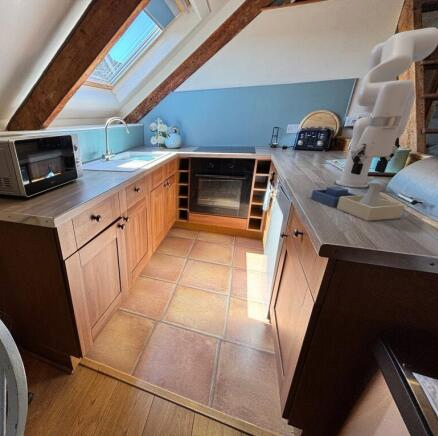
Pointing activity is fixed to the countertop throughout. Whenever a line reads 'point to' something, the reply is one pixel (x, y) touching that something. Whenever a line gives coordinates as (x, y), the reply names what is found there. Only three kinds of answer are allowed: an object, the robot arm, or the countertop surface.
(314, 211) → the countertop surface
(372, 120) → the robot arm
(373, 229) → the countertop surface
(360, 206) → the cream bin
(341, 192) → the blue block
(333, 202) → the blue bin
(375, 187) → the flask
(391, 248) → the countertop surface
